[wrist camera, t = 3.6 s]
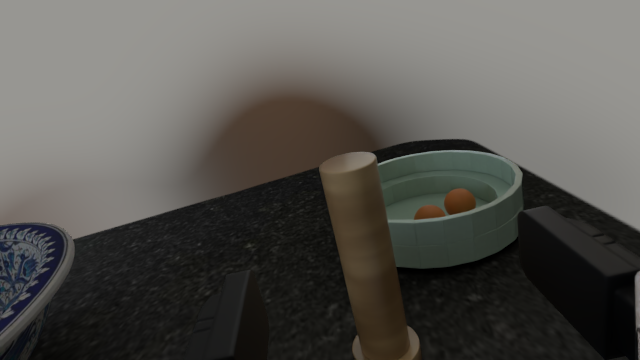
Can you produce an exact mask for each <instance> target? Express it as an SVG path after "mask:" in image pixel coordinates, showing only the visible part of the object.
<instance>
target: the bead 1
mask: <svg viewBox="0 0 640 360" xmlns="http://www.w3.org/2000/svg"><path fill="white" fill-rule="evenodd" d="M444 216H446V215H445V213H444V212H443V210H442V209H441V208H439V207H437V206H435V205H425V206H422V207H421V208H419V209H418V210H417V212H416V213H415V216H414V220H419V219H429V218H439V217H444Z"/></svg>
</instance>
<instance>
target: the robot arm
mask: <svg viewBox="0 0 640 360" xmlns="http://www.w3.org/2000/svg"><path fill="white" fill-rule="evenodd" d="M517 223H518V240H519V257H520V263H521V266H522V269H523V271H524V273H525V275H526V276H527V278H528V279H529V280H530V281H531V282H532V283H533V284H534V285H535V286H536V288H537V289H538V290H539V291H540V292H541V293H542V294H543V295H544V296H545V297H546V298H547V299H548V300H549V301H550V302H551V303H552V304H553V305H554V307H555V308H556V309H557V310H558V311H559V312H560V313H561V314H562V315H563V316H564V317H565V318H566V319H567V320H568V321H569V322H570V323H571V325H572V326H573V327H574V328H575V329H576V330H577V331H578V332H579V333H580V334H581V335H582V336H583V337H584V338H585V339H586V340H587V341H588V342H589V344H590V345H591V346H592V347H593V348H594V349H595V350H596V351H597V352H598V353H599V354H600V355H601V356H602V357H603V358H604V359H605V360H609V359H613V358H618V357H623V356H626V357H627V358H628V359H629V360H640V257H639V256H638V255H636V254H635V253H633V252H631V251H630V250H628V249H627V248H625V247H624V246H622V245H621V244H619V243H616V242H615V240H613V239H611V238H610V237H608V236H607V235H604V234H603V233H602V232H601V231H599V230H598V229H596V228H595V227H593V226H591V225H590V224H587V223H584V222H581V221H578V220H575V219H572V218H568V219H566V218H565V217H563V216H562V215H560V214H559V213H557V212H556V211H554V210H553V209H551V208H550V207H548V206H543V207H538V208H534V209H529V210H525V211H521V212H519V214H518V218H517ZM268 338H269V324H268V317H267V313H266V309H265V306H264V303H263V300H262V297H261V294H260V290H259V287H258V284H257V281H256V278H255V275H254V272H253V271H252V270H246V271H242V272H237V273H233V274H228V275H226V278H225V281H224V285H223V288H222V291H221V293H219V294H214V295H211V297H210V298H209V299H208V300H207V301H206V302H205V304H204V305H203V306H202V307H201V309H200V312H199V315H198V318H197V323H196V324H195V327H194V329H193V333H192V335H191V338H190V341H189V344H188V347H187V349H186V352H185V355H184V358H183V360H267V349H268Z"/></svg>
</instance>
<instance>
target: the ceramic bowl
mask: <svg viewBox="0 0 640 360" xmlns="http://www.w3.org/2000/svg"><path fill="white" fill-rule="evenodd" d="M74 255H75V248H74V242H73V239H72V237H71V236H70V235H69V234H68V233H67V232H66V230H64V229H62V228H61V227H58V226H56V225H53V224H46V223H16V224H7V225H0V360H28V359H29V358H30V356H31V354H32V352H33V350H34V348H35V346H36V344H37V342H38V339H39V337H40V335H41V332H42V330H43V327H44V325H45V322H46V318H47V315H48V311H49V308H50V303H51V299H52V297H53V296H54V294H55V293H56V292H57V290H58V289H59V288H60V286H61V285H62V283H63V281H64V280H65V278H66V276H67V275H68V273H69V270H70V268H71V266H72V263H73V259H74Z"/></svg>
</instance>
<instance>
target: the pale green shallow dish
mask: <svg viewBox="0 0 640 360" xmlns="http://www.w3.org/2000/svg"><path fill="white" fill-rule="evenodd" d="M378 169H379V175H380V180H381V186H382V191H383V197H384V202H385V208H386V213H387V219H388V224H389V230H390V235H391V241H392V246H393V252H394V257H395V263H396V267H406V268H419V269H425V268H440V267H450V266H455V265H460V264H464V263H469V262H473V261H477V260H480V259H482V258H485V257H487V256H489V255H492V254H494V253H497V252H499V251H500V250H502V249H503V248H505V247H506V246H507V245H509V244H510V243H512V242H513V241H515V239H516V238H517V237H518V223H517V218H518V214H519V212H521V211H525V205H524V187H523V173H522V172H521V170H520V169H519V167H518V166H517V164H515V163H513V162H512V161H510V160H508V159H507V158H504V157H501V156H497V155H494V154H490V153H484V152H477V151H463V150H447V151H432V152H425V153H418V154H412V155H407V156H403V157H399V158H395V159H391V160H388V161H385V162H382V163H379V164H378ZM458 188H461V189H466V190H468V191H469V192H471V193H472V194H473V196H474V198H475V200H476V207H475V209H473V210H470V211H467V212H462V213H458V214H453V215H449V214H448V213H447V212H446V210H445V207H444V200H445V197H446V195H447V194H448V193H449V192H450V191H452V190H454V189H458ZM425 205H435V206H437V207H439V208H441V209H442V210H443V212H444V213H445V215H446V216H444V217H439V218H429V219H419V220H414V216H415V213H416V212H417V210H418V209H419V208H421V207H422V206H425Z"/></svg>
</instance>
